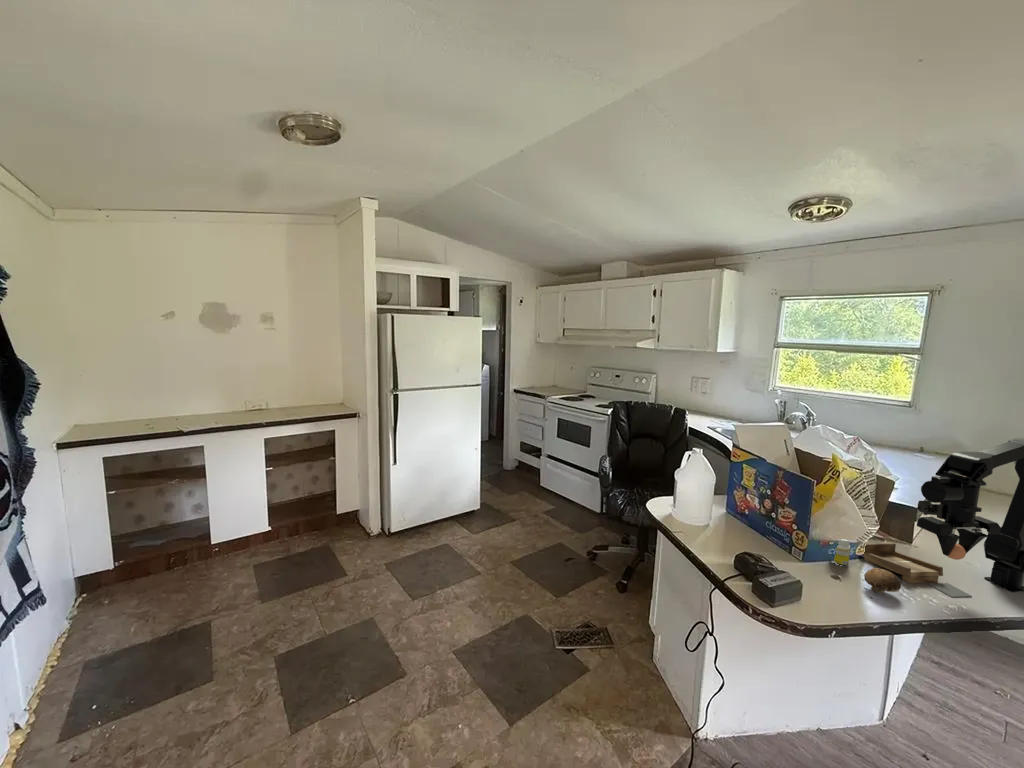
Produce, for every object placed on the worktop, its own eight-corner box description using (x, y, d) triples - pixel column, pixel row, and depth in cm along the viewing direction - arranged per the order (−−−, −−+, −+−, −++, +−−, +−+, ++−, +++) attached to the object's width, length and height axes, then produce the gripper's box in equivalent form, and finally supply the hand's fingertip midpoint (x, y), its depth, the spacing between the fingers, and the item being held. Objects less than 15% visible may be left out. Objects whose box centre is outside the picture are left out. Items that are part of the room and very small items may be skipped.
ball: (951, 554, 120) (953, 539, 119) (969, 562, 115) (971, 547, 115) (937, 554, 119) (939, 539, 119) (954, 563, 115) (957, 547, 114)
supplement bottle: (829, 557, 135) (832, 532, 134) (848, 563, 132) (851, 537, 131) (828, 564, 131) (831, 538, 130) (848, 569, 128) (851, 543, 127)
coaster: (947, 584, 122) (947, 582, 121) (971, 597, 116) (971, 595, 116) (928, 584, 121) (928, 583, 121) (951, 598, 115) (951, 596, 115)
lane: (889, 555, 137) (891, 541, 137) (941, 584, 122) (944, 568, 121) (858, 556, 136) (860, 542, 136) (906, 585, 121) (908, 569, 120)
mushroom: (854, 584, 121) (857, 563, 120) (883, 585, 120) (886, 564, 120) (877, 601, 113) (880, 579, 112) (908, 603, 112) (912, 580, 112)
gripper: (959, 489, 124) (951, 540, 126) (901, 489, 122) (893, 541, 124) (1006, 504, 113) (997, 560, 115) (943, 505, 111) (934, 561, 113)
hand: (953, 554), depth 117 cm, fingers closed on ball, 4 cm apart
